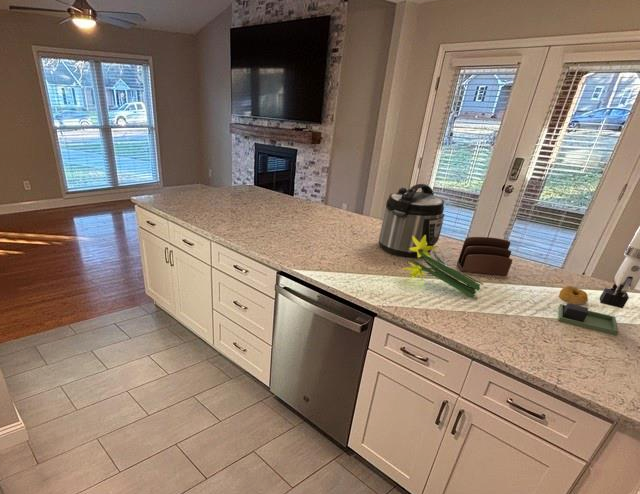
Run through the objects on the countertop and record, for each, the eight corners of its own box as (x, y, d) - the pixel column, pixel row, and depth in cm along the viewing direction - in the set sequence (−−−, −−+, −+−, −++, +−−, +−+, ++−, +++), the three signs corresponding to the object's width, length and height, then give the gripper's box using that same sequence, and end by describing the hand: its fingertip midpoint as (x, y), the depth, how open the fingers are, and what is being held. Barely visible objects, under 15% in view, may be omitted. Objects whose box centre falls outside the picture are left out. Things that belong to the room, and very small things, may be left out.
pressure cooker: (390, 260, 198) (406, 191, 180) (365, 241, 221) (377, 178, 203) (446, 258, 203) (466, 191, 186) (416, 239, 226) (432, 178, 209)
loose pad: (621, 303, 146) (627, 292, 144) (622, 308, 143) (628, 298, 141) (599, 298, 149) (605, 288, 147) (600, 303, 146) (606, 292, 143)
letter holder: (456, 263, 198) (466, 234, 190) (500, 268, 196) (511, 238, 188) (461, 271, 190) (471, 241, 182) (507, 276, 187) (519, 245, 180)
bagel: (560, 303, 165) (566, 292, 162) (555, 293, 174) (560, 282, 171) (589, 308, 162) (595, 297, 160) (582, 297, 171) (587, 287, 168)
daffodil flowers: (466, 306, 161) (389, 262, 173) (463, 311, 175) (392, 269, 186) (494, 269, 158) (414, 226, 169) (488, 277, 172) (415, 236, 183)
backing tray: (612, 321, 154) (615, 316, 153) (615, 337, 144) (618, 331, 143) (557, 308, 161) (560, 303, 160) (557, 322, 152) (560, 317, 150)
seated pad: (582, 317, 155) (587, 307, 152) (583, 322, 151) (588, 312, 149) (562, 312, 157) (567, 302, 155) (562, 317, 154) (567, 307, 152)
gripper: (658, 263, 128) (626, 315, 138) (650, 248, 140) (621, 296, 150) (629, 258, 131) (600, 308, 141) (623, 243, 143) (597, 291, 154)
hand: (611, 302), depth 146 cm, fingers closed on loose pad, 5 cm apart
